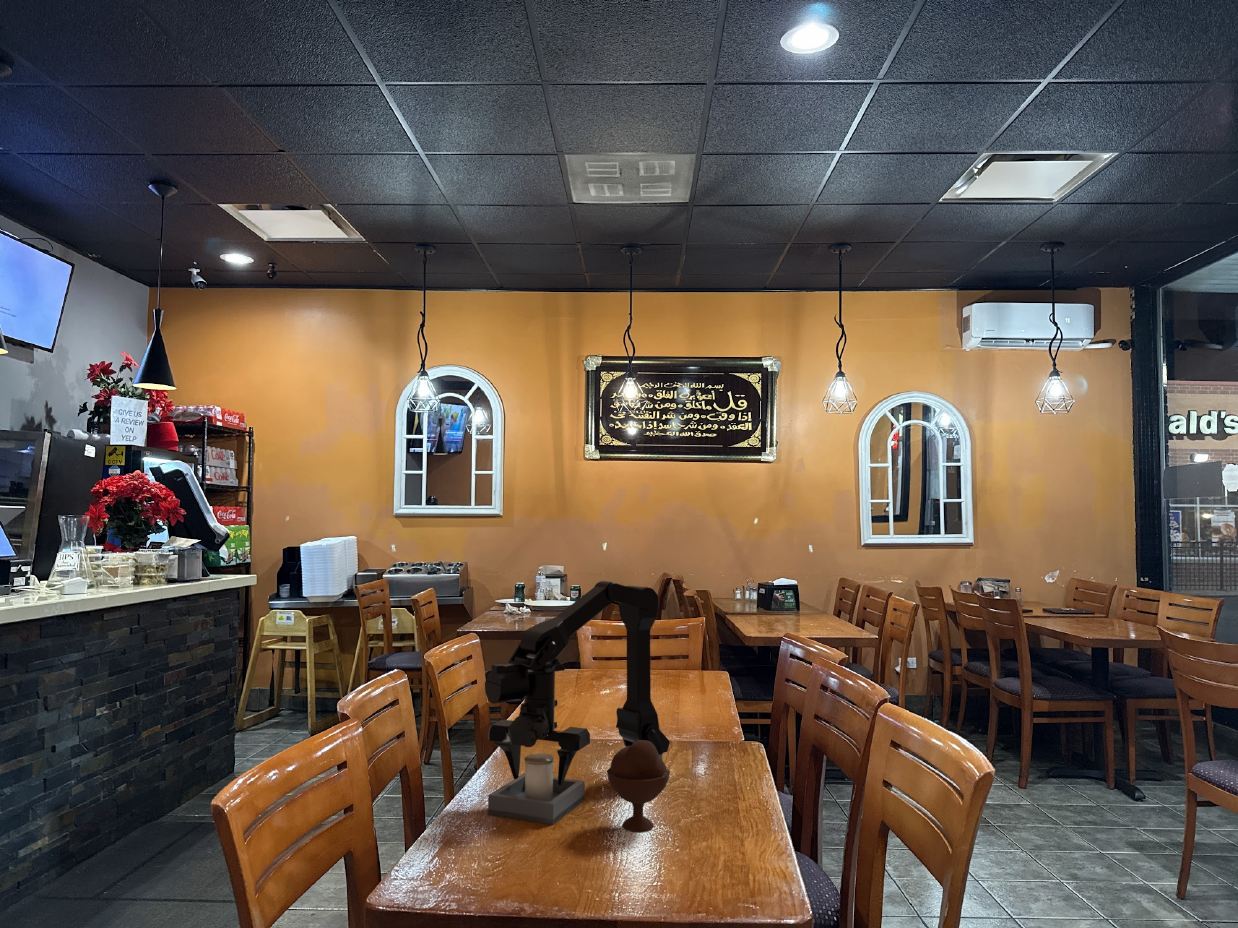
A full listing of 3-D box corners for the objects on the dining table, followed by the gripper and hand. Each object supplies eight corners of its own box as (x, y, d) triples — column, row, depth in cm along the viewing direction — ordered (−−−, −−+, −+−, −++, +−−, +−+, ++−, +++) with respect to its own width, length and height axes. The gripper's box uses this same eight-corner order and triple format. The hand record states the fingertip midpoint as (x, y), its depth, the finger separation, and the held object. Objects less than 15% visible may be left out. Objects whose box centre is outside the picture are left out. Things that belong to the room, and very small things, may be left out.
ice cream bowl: (675, 819, 145) (676, 733, 147) (658, 841, 135) (658, 749, 136) (619, 811, 149) (620, 728, 150) (598, 833, 138) (599, 743, 139)
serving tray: (584, 799, 155) (584, 780, 155) (553, 824, 142) (553, 804, 142) (523, 791, 160) (523, 772, 160) (487, 814, 147) (488, 794, 147)
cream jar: (558, 798, 153) (558, 755, 153) (545, 807, 148) (546, 763, 148) (532, 795, 154) (532, 752, 155) (519, 804, 149) (519, 759, 150)
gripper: (474, 700, 148) (472, 788, 147) (567, 710, 142) (566, 801, 141) (503, 689, 159) (501, 771, 157) (591, 697, 152) (590, 782, 151)
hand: (538, 781), depth 151 cm, fingers open, 9 cm apart
